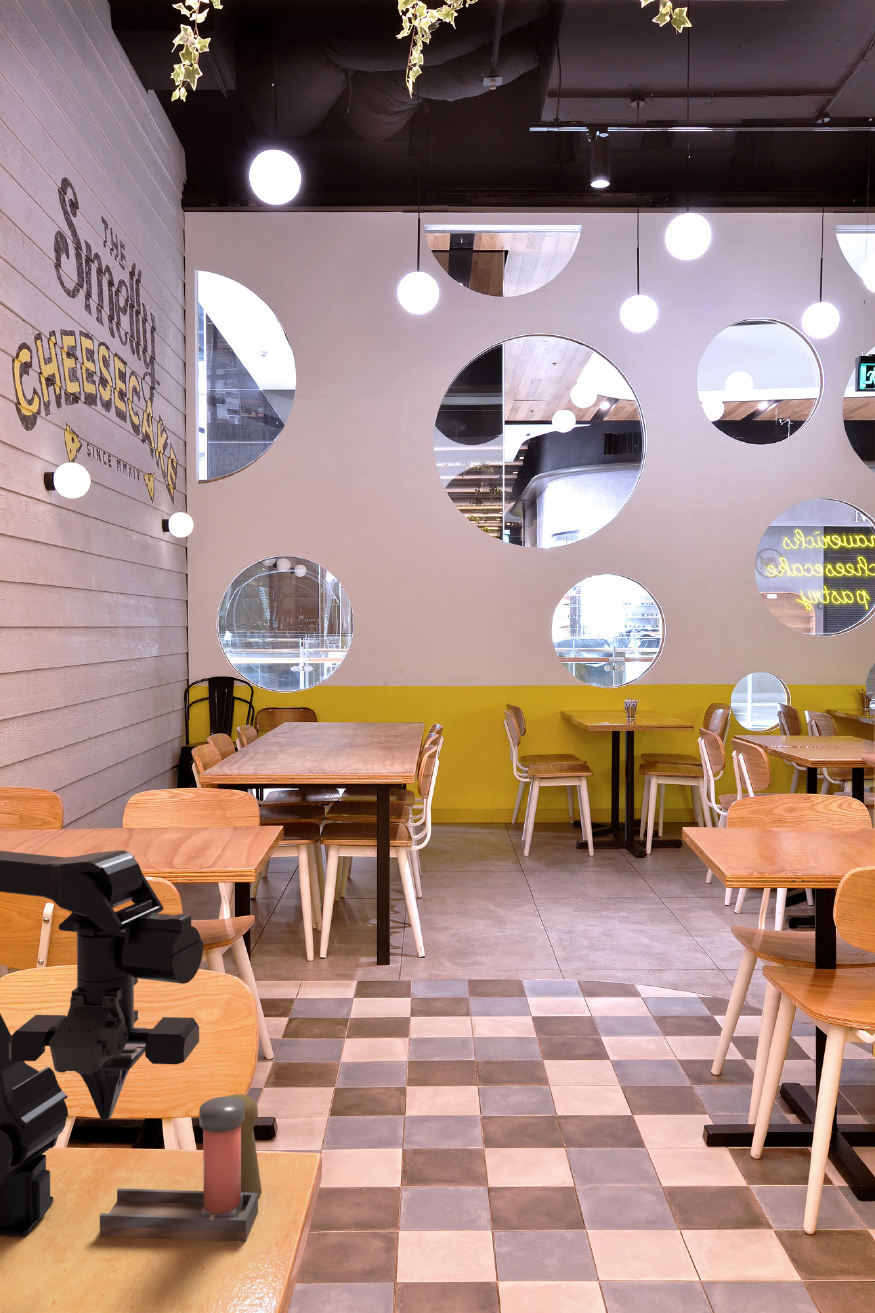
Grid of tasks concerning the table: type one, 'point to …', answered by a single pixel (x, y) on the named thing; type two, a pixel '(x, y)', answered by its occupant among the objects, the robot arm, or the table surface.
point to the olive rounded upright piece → (249, 1147)
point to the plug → (222, 1156)
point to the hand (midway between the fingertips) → (106, 1118)
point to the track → (174, 1216)
